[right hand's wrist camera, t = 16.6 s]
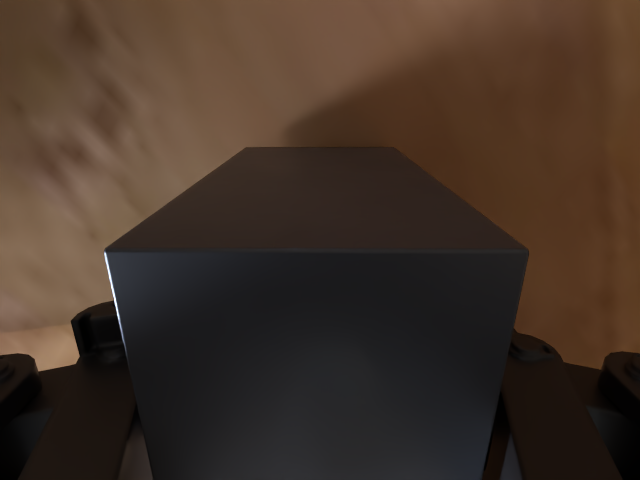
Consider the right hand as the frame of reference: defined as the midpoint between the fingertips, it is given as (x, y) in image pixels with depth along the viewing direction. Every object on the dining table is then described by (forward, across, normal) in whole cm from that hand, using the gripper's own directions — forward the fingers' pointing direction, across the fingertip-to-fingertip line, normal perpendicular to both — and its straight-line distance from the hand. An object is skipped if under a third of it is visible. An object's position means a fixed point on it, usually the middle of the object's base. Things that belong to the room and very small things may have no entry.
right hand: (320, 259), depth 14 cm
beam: (0, 0, -11) cm, 11 cm away
